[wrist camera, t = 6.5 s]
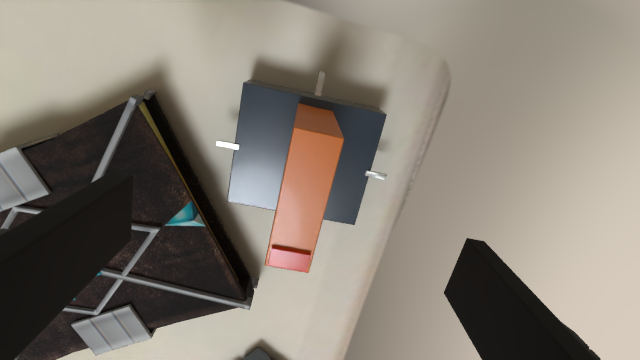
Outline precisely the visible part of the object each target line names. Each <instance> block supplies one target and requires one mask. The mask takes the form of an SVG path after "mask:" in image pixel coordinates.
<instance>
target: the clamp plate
mask: <svg viewBox="0 0 640 360" xmlns="http://www.w3.org/2000/svg"><path fill="white" fill-rule="evenodd" d="M325 74H326V73H325V72H321V71H320V72H319V77H318V81H317V86H316V91H315V94H313V93H309V92H304V91H300V90H296V89H291V88H287V87H282V86H278V85H273V84H269V83H265V82H260V81H256V80H251V79H250V80H248V81H246V82H244V83H243V89H242V96H241V103H240V110H239V118H238V125H237V132H236V140H235V143H231V142H226V141H221V140H217V143H216V146H220V147H225V148H230V149H234V154H233V161H232V169H231V176H230V183H229V190H228V198H227V202H232V203H238V204H243V205H249V206H254V207H259V208H265V209H270V210H276V207H277V202H278V197H279V193H280V188H281V183H282V178H283V173H284V169H285V164H286V159H287V154H288V150H289V145H290V140H291V135H292V131H293V126H294V121H295V116H296V111H297V107H298V103H300V104H304V105H308V106H313V107H317V108H321V109H325V110H330V111H333V113H334V115H335V118H336V120H337V123H338V125H339V127H340V130H341V132H342V135H343V137H344V142H343V146H342V149H341V153H340V157H339V161H338V164H337V168H336V172H335V176H334V179H333V183H332V187H331V191H330V194H329V198H328V202H327V206H326V209H325V213H324V217H323V219H325V220H330V221H336V222H341V223H346V224H352V225H355V222H356V218H357V215H358V211H359V208H360V204H361V201H362V198H363V194H364V191H365V187H366V184H367V181H368V177H374V178H379V179H384V180H385V179H386V176H387V175H386V174H383V173H378V172H373V171H370V170H371V167H372V163H373V160H374V157H375V153H376V150H377V146H378V143H379V139H380V136H381V133H382V129H383V126H384V122H385V119H386V114H385V113H384V112H383V111H381V110H380V109H379V108H376V107H371V106H367V105H362V104H358V103H353V102H349V101H344V100H340V99H336V98H331V97H327V96H322V95H321V92H322V87H323V83H324V78H325Z"/></svg>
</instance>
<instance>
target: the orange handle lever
mask: <svg viewBox="0 0 640 360" xmlns="http://www.w3.org/2000/svg"><path fill="white" fill-rule="evenodd" d="M343 142H344V137H343V135H342V132H341V130H340V127H339V125H338V123H337V120H336V118H335V115H334V113H333V111H330V110H325V109H321V108H317V107H313V106H308V105H304V104H300V103H298V107H297V111H296V116H295V121H294V126H293V131H292V135H291V140H290V145H289V150H288V154H287V159H286V164H285V169H284V173H283V178H282V183H281V188H280V193H279V197H278V202H277V207H276V212H275V217H274V222H273V226H272V231H271V236H270V241H269V246H268V251H267V256H266V261H265V265H266V266H272V267H277V268H283V269H289V270H294V271H300V272H306V273H308V272H309V269H310V265H311V262H312V258H313V254H314V251H315V247H316V243H317V239H318V236H319V232H320V228H321V224H322V221H323V217H324V213H325V209H326V206H327V202H328V198H329V194H330V191H331V187H332V183H333V179H334V176H335V172H336V168H337V164H338V161H339V157H340V153H341V149H342V146H343Z"/></svg>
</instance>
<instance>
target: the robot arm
mask: <svg viewBox="0 0 640 360" xmlns="http://www.w3.org/2000/svg"><path fill="white" fill-rule="evenodd" d="M132 202H133V175H130V174H125V173H119V172H114V171H111V172H109V173H107V174H106V175H104V176H102V177H100V178H99V179H97V180H95V181H94V182H92V183H90V184H88V185H87V186H85V187H83V188H81V189H80V190H78V191H76V192H74V193H73V194H71V195H69V196H68V197H66V198H64V199H62V200H61V201H59V202H57V203H55V204H54V205H52V206H50V207H48V208H47V209H45V210H43V211H42V212H40V213H38V214H36V215H35V216H33V217H31V218H29V219H28V220H26V221H24V222H22V223H21V224H19V225H17V226H16V227H14V228H12V229H5V228H2V229H0V360H15V359H16V358H17V357H18V356H19V355H20V354H21V353H22V351H23V350H24V349H25V348H26V347H27V346H28V345H29V344H30V343H31V342H32V341H33V340H34V339H35V338H36V337H37V336H38V335H39V334H40V333H41V332H42V331H43V330H44V329H45V328H46V327H47V326H48V325H49V324H50V323H51V322H52V321H53V320H54V319H55V318H56V317H57V316H58V314H59V313H60V312H61V311H62V310H63V309H64V308H65V307H66V306H67V305H68V304H69V303H70V302H71V301H72V300H73V299H74V298H75V297H76V296H77V295H78V294H79V293H80V292H81V291H82V290H83V289H84V288H85V287H86V286H87V285H88V284H89V283H90V282H91V281H92V280H93V279H94V278H95V276H96V275H97V274H98V273H99V272H100V271H101V270H102V269H103V268H104V267H105V266H106V265H107V264H108V263H109V262H110V261H111V260H112V259H113V258H114V257H115V256H116V255H117V254H118V253H119V252H120V251H121V250H122V249H123V248H124V247H125V246H126V245H127V244H128V243H129V242H130V241H131V230H132ZM444 294H445V296H446V297H447V299H448V301H449V303H450V304H451V306H452V308H453V310H454V311H455V313H456V315H457V317H458V318H459V320H460V322H461V323H462V325H463V327H464V329H465V331H466V332H467V334H468V336H469V338H470V339H471V341H472V343H473V345H474V346H475V348H476V350H477V352H478V353H479V355H480V357H481V359H482V360H600V358H599V357H598V356H597V355H596V354H595V353H594V352H593V351H592V350H590V349H589V346H587V344H585V342H584V341H583V340H582V339H581V338H580V337H579V336H578V335H577V334H576V333H575V332H574V331H572V330H571V329H570V328H568V327H567V326H566V325H564V324H563V323H562V322H560V320H558V318H557V317H555V315H554V314H553V313H552V312H551V311H550V310H549V309H548V308H547V307H546V306H545V305H544V304H543V303H542V302H541V300H540V299H539V298H538V297H537V296H536V295H535V294H534V293H533V292H532V291H531V290H530V289H529V288H528V287H527V286H526V285H525V284H524V283H523V282H522V281H521V279H520V278H519V277H517V275H516V274H515V273H514V272H513V271H512V270H511V269H510V268H509V267H508V266H507V265H506V264H505V263H504V262H503V261H502V260H501V259H500V258H499V256H498V255H497V254H496V253H495V252H494V251H493V250H492V249H491V248H490V247H489V246H488V245H487V244H486V243H485V242H484V241H479V240H474V239H469V238H467V239H466V242H465V244H464V246H463V249H462V251H461V253H460V256H459V258H458V260H457V263H456V265H455V268H454V270H453V273H452V275H451V277H450V279H449V282H448V284H447V286H446V289H445V291H444Z"/></svg>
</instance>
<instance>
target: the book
mask: <svg viewBox="0 0 640 360" xmlns="http://www.w3.org/2000/svg"><path fill="white" fill-rule="evenodd" d="M155 94H156V91H154V90H153V89H149V90H145V92H144V95H143V97H141V96H139V95H135V96H131V97H130V99H129V100H128V101H126V102H124V103H122V104H120V105H118V106H116V107H114V108H113V109H111V110H109V111H107V112H105V113H103V114H101V115H99V116H97V117H95V118H93V119H91V120H89V121H87V122H85V123H83V124H81V125H79V126H77V127H75V128H73V129H71V130H69V131H67V132H65V133H63V134H61V135H58V133H57V134H54V135H51V136H48V137H45V138H42V139H39V140H36V141H33V142H30V143H26V144H23V145H20V146H17V147H14V148H12V149H9V150H6V151H4V152H1V153H0V229H2V228H5V229H12V228H14V227H16V226H17V225H19V224H21V223H22V222H24V221H26V220H28V219H29V218H31V217H33V216H35V215H36V214H38V213H40V212H42V211H43V210H45V209H47V208H48V207H50V206H52V205H54V204H55V203H57V202H59V201H61V200H62V199H64V198H66V197H68V196H69V195H71V194H73V193H74V192H76V191H78V190H80V189H81V188H83V187H85V186H87V185H88V184H90V183H92V182H94V181H95V180H97V179H99V178H100V177H102V176H104V175H106V174H107V173H109V172H111V171H114V172H119V173H125V174H130V175H133V202H132V230H131V241H130V242H129V243H128V244H127V245H126V246H125V247H124V248H123V249H122V250H121V251H120V252H119V253H118V254H117V255H116V256H115V257H114V258H113V259H112V260H111V261H110V262H109V263H108V264H107V265H106V266H105V267H104V268H103V269H102V270H101V271H100V272H99V273H98V274H97V275H96V276H95V278H94V279H93V280H92V281H91V282H90V283H89V284H88V285H87V286H86V287H85V288H84V289H83V290H82V291H81V292H80V293H79V294H78V295H77V296H76V297H75V298H74V299H73V300H72V301H71V302H70V303H69V304H68V305H67V306H66V307H65V308H64V309H63V310H62V311H61V312H60V313H59V314H58V316H57V317H56V318H55V319H54V320H53V321H52V322H51V323H50V324H49V325H48V326H47V327H46V328H45V329H44V330H43V331H42V332H41V333H40V334H39V335H38V336H37V337H36V338H35V339H34V340H33V341H32V342H31V343H30V344H29V345H28V346H27V347H26V348H25V349H24V350H23V351H22V353H21V354H20V355H19V356H18V357H17V358H16V359H15V360H56V359H59V358H61V357H63V356H66V355H68V354H70V353H73V352H76V351H80V350H83V349H86V348H90V349H91V350H92V351H93V353H94V354H95V355H99V354H102V353H105V352H108V351H112V350H115V349H118V348H121V347H125V346H128V345H131V344H134V343H138V342H141V341H144V340H147V339H151V338H152V336H153V334H154V332H155V330H156V329H157V328H159V327H163V326H166V325H170V324H173V323H177V322H181V321H185V320H189V319H193V318H197V317H201V316H205V315H209V314H214V313H218V312H222V311H226V310H230V309H234V308H238V307H239V308H243V309H248V310H250V307H251V303H252V299H253V295H254V289H253V288H257V285H258V281H259V278H257V277H253V276H250V274H249V272H248V270H247V268H246V267H245V265H244V263H243V261H242V260H241V258H240V256H239V254H238V253H237V251H236V249H235V247H234V246H233V244H232V242H231V240H230V238H229V237H228V235H227V233H226V231H225V230H224V228H223V226H222V224H221V222H220V220H219V218H218V216H217V215H216V213H215V211H214V209H213V207H212V205H211V203H210V201H209V199H208V198H207V196H206V194H205V192H204V190H203V188H202V186H201V184H200V182H199V181H198V179H197V177H196V175H195V173H194V171H193V169H192V167H191V165H190V164H189V162H188V160H187V158H186V156H185V154H184V152H183V150H182V148H181V146H180V144H179V142H178V140H177V138H176V136H175V135H174V133H173V131H172V129H171V127H170V125H169V123H168V121H167V119H166V117H165V115H164V113H163V111H162V109H161V107H160V105H159V103H158V101H157V99H156V97H155Z"/></svg>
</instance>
